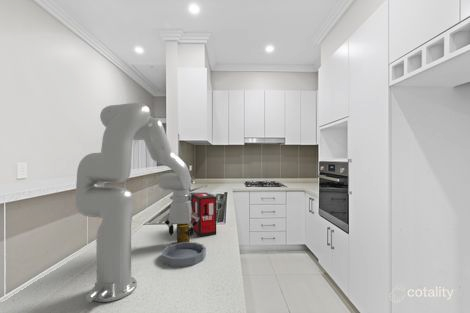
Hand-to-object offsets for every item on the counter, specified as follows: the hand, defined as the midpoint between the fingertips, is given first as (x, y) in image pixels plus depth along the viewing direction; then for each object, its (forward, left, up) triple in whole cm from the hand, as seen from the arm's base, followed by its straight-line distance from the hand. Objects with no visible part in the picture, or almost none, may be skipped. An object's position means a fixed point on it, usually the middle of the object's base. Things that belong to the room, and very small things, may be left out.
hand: (181, 234), depth 110 cm
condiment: (0, 0, -5) cm, 5 cm away
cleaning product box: (+19, -6, -5) cm, 20 cm away
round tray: (-14, -6, -4) cm, 16 cm away
